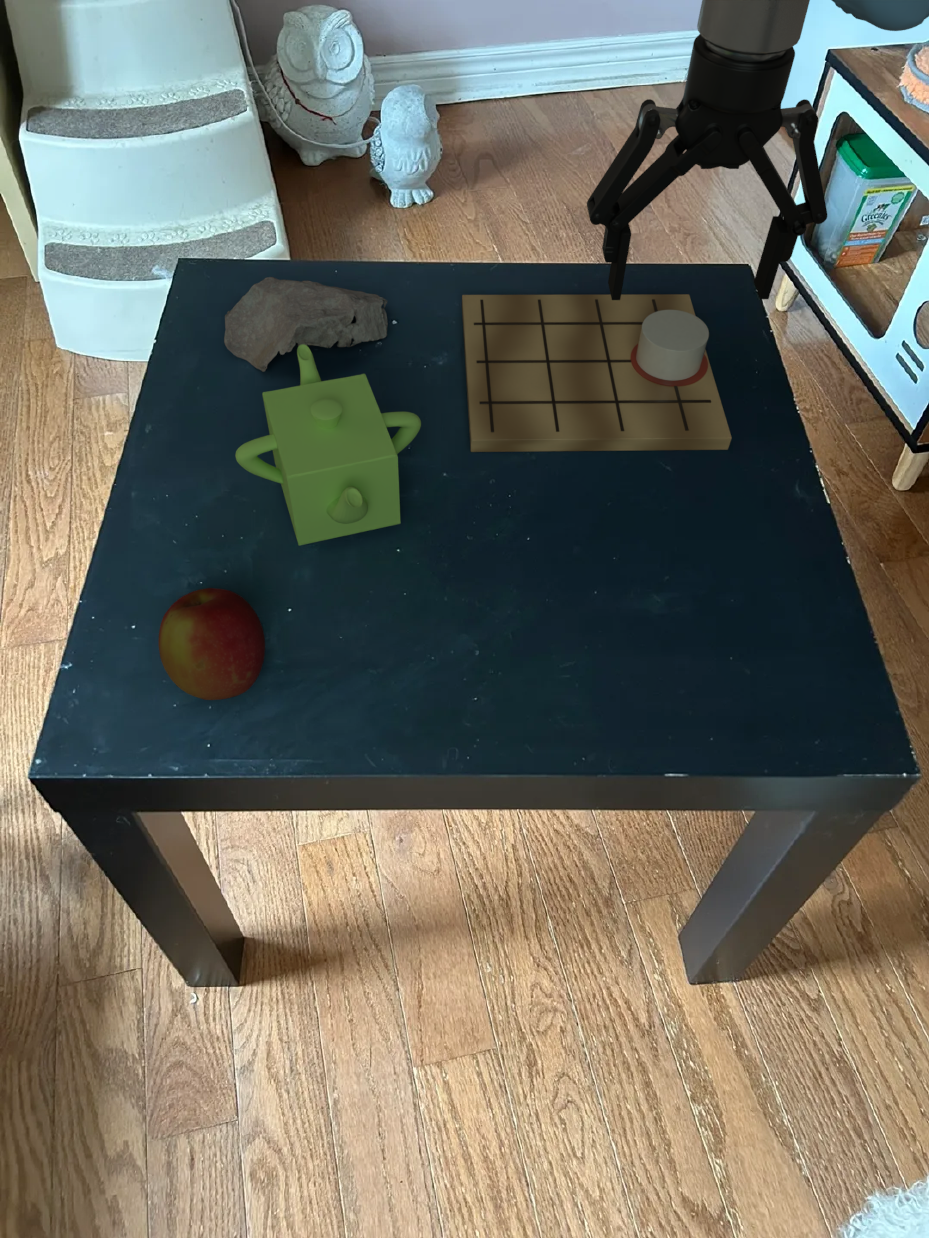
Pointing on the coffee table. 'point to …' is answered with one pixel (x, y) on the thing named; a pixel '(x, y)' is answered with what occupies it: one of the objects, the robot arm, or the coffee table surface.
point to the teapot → (331, 454)
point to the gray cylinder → (672, 344)
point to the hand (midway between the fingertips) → (687, 291)
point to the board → (579, 378)
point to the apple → (212, 644)
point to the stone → (300, 319)
